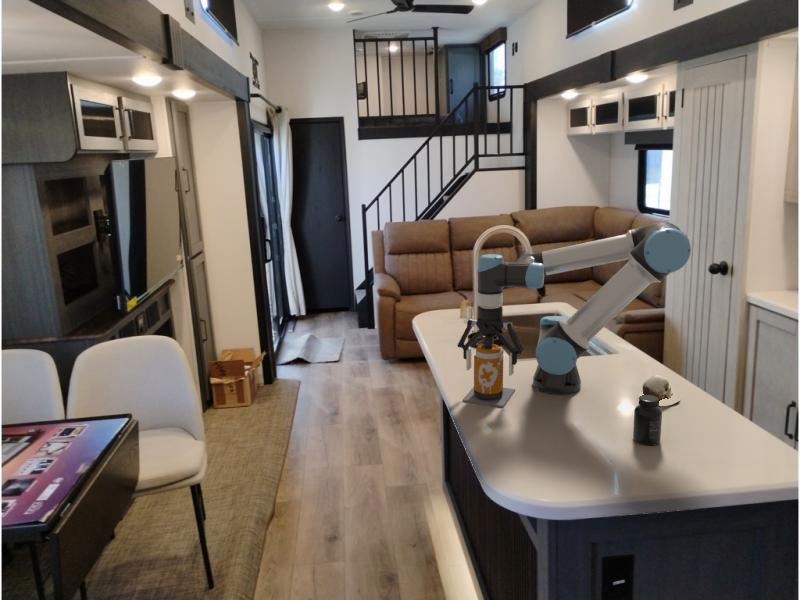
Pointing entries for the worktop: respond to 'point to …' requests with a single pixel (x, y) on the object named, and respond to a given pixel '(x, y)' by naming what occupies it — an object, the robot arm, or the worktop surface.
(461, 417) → the worktop surface
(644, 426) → the supplement bottle
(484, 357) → the canister
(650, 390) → the skull
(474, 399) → the mat
